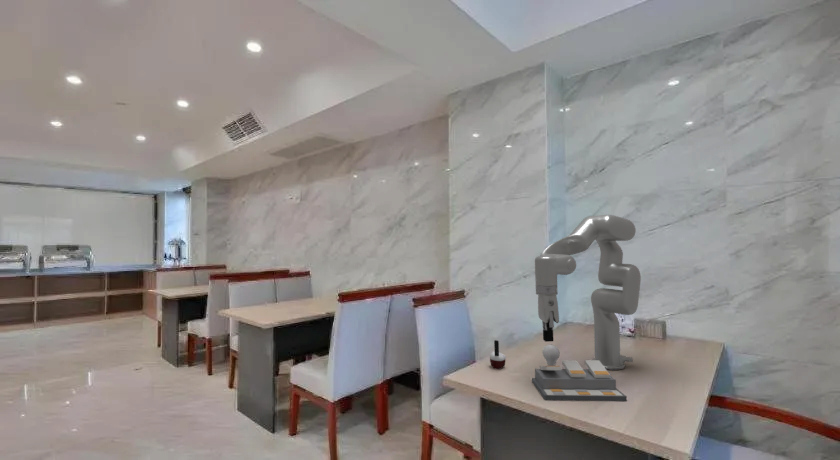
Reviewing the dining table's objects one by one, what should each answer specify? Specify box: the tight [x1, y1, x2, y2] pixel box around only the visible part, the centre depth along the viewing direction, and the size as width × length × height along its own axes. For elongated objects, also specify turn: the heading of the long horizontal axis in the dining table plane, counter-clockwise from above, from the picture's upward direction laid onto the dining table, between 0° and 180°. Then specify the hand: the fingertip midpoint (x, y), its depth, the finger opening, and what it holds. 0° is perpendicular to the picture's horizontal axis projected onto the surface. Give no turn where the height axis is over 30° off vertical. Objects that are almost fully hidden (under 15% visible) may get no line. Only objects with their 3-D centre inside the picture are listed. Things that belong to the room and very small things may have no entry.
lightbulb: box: [542, 344, 560, 366], centre depth 149 cm, size 6×6×11 cm
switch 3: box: [584, 359, 611, 378], centre depth 133 cm, size 5×9×1 cm, turn 178°
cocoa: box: [489, 339, 507, 370], centre depth 156 cm, size 10×6×12 cm, turn 142°
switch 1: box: [539, 365, 563, 370], centre depth 134 cm, size 5×9×1 cm, turn 178°
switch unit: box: [531, 368, 627, 402], centre depth 131 cm, size 26×16×5 cm, turn 88°
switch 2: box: [561, 359, 586, 377], centre depth 133 cm, size 5×9×1 cm, turn 178°
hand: (548, 340), depth 138 cm, fingers closed
